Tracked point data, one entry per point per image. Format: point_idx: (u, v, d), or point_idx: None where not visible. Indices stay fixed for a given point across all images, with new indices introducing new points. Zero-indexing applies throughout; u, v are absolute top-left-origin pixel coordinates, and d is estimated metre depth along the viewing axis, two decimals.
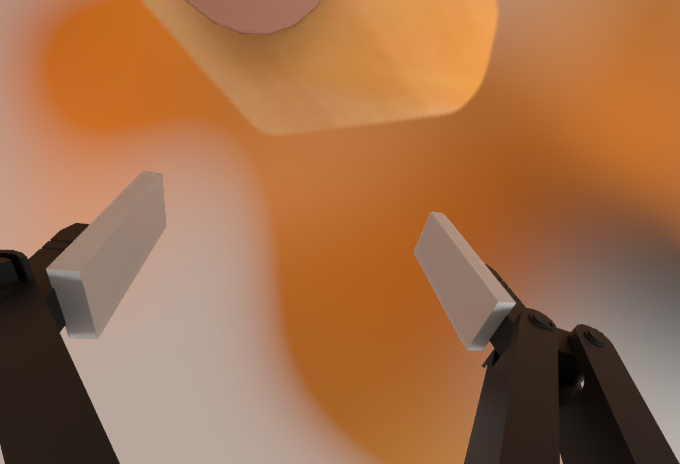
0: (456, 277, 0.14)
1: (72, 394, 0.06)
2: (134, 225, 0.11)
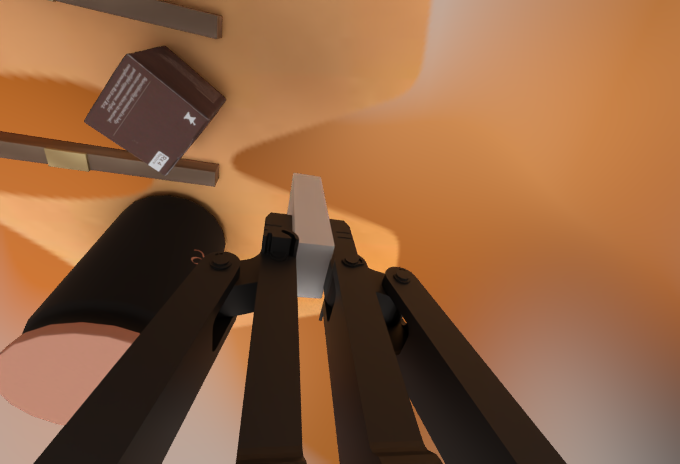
0: None
1: (291, 345, 0.08)
2: None
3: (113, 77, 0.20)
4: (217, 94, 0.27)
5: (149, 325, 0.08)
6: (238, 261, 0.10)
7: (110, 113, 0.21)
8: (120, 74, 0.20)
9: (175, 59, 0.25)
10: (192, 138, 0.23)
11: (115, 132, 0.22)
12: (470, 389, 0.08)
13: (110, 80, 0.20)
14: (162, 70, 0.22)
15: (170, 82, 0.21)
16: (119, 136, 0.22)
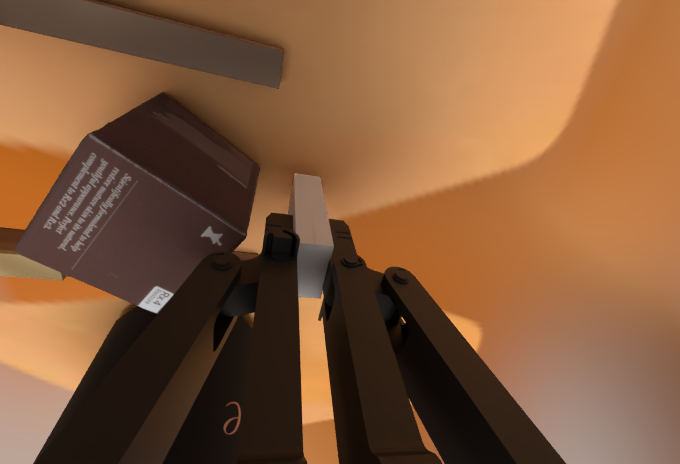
0: None
1: (292, 346, 0.08)
2: None
3: (64, 177, 0.10)
4: (248, 164, 0.17)
5: (150, 325, 0.08)
6: (239, 261, 0.10)
7: (62, 236, 0.11)
8: (77, 171, 0.10)
9: (182, 116, 0.15)
10: None
11: (76, 264, 0.12)
12: (469, 389, 0.08)
13: (58, 182, 0.10)
14: (161, 152, 0.12)
15: (176, 175, 0.11)
16: (83, 270, 0.12)
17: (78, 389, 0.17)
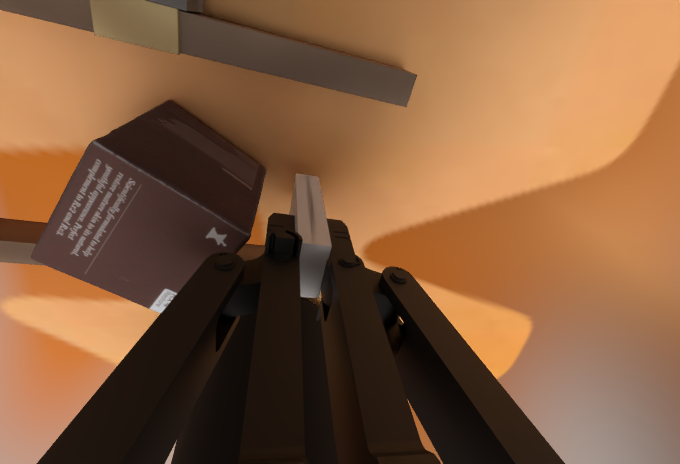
0: None
1: (294, 346, 0.08)
2: None
3: (73, 184, 0.11)
4: (254, 167, 0.17)
5: (153, 325, 0.08)
6: (242, 261, 0.10)
7: (74, 242, 0.12)
8: (84, 178, 0.10)
9: (187, 122, 0.15)
10: None
11: (88, 269, 0.12)
12: (467, 389, 0.08)
13: (67, 189, 0.11)
14: (165, 157, 0.12)
15: (179, 178, 0.12)
16: (95, 274, 0.12)
17: None
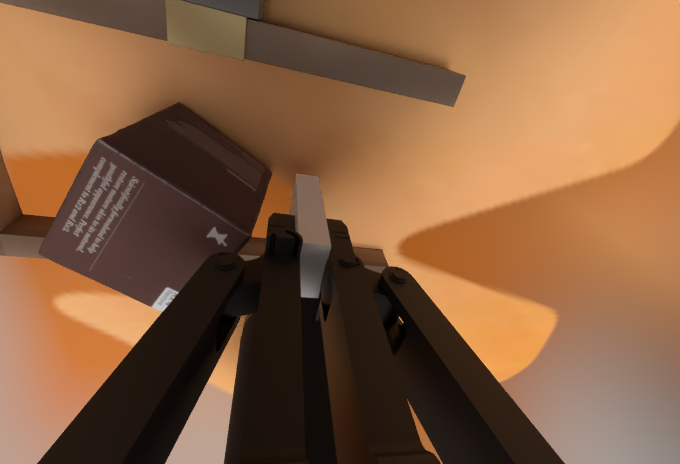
0: None
1: (294, 346, 0.08)
2: None
3: (78, 181, 0.11)
4: (260, 169, 0.17)
5: (154, 325, 0.08)
6: (242, 262, 0.10)
7: (79, 238, 0.12)
8: (89, 175, 0.11)
9: (195, 124, 0.16)
10: None
11: (93, 266, 0.13)
12: (467, 389, 0.08)
13: (73, 186, 0.11)
14: (169, 156, 0.12)
15: (182, 177, 0.12)
16: (99, 271, 0.13)
17: None
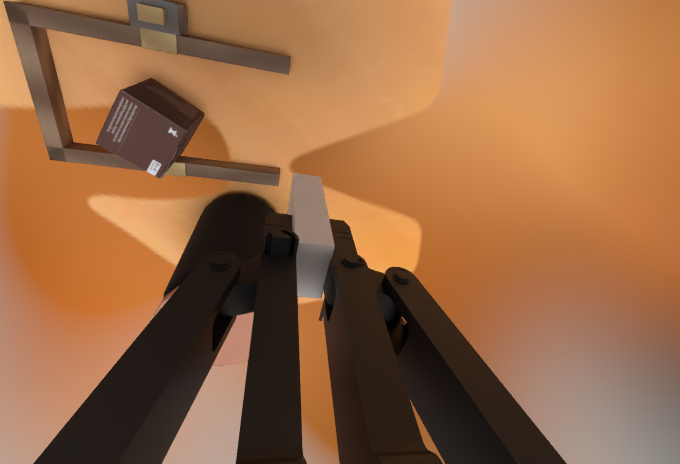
0: None
1: (291, 346, 0.08)
2: None
3: (113, 107, 0.27)
4: (196, 111, 0.34)
5: (149, 325, 0.08)
6: (238, 261, 0.10)
7: (113, 134, 0.29)
8: (118, 105, 0.27)
9: (160, 88, 0.32)
10: (176, 147, 0.30)
11: (119, 149, 0.29)
12: (470, 389, 0.08)
13: (111, 110, 0.28)
14: (149, 98, 0.29)
15: (155, 106, 0.28)
16: (122, 151, 0.29)
17: (197, 227, 0.36)
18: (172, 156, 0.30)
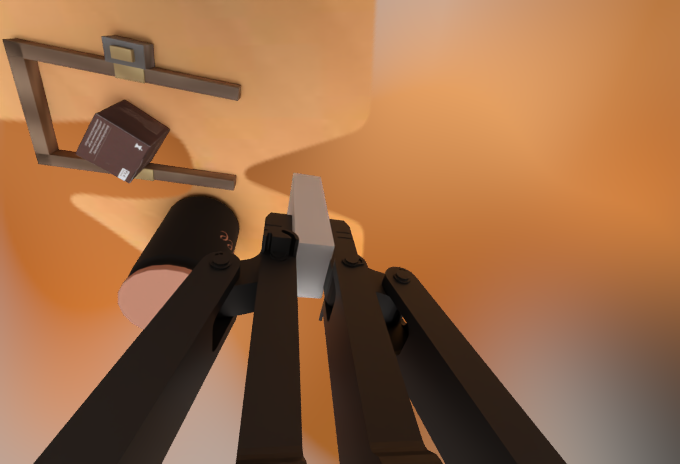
0: None
1: (291, 346, 0.08)
2: None
3: (89, 127, 0.34)
4: (162, 127, 0.41)
5: (149, 325, 0.08)
6: (238, 261, 0.10)
7: (90, 148, 0.36)
8: (93, 125, 0.34)
9: (131, 108, 0.39)
10: (142, 159, 0.37)
11: (95, 159, 0.36)
12: (470, 389, 0.08)
13: (88, 129, 0.34)
14: (119, 119, 0.36)
15: (124, 126, 0.35)
16: (97, 161, 0.36)
17: (161, 223, 0.43)
18: (138, 165, 0.37)
